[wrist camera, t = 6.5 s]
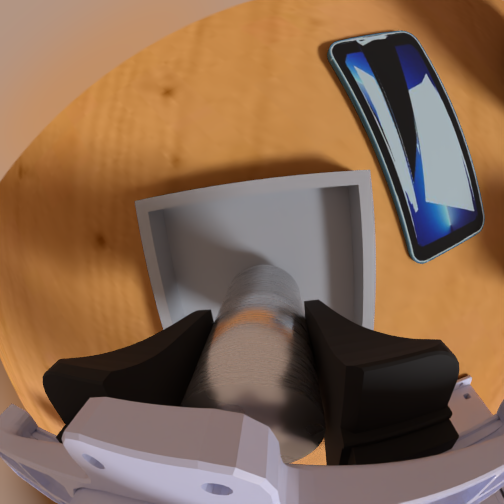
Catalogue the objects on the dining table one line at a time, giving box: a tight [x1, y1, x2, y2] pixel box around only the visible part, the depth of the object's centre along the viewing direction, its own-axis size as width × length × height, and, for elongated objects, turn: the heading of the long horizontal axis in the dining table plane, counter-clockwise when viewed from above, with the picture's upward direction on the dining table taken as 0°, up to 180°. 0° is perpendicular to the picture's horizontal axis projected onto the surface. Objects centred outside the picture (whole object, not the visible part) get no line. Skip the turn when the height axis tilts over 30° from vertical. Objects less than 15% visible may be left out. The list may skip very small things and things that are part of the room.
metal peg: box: [180, 264, 326, 463], centre depth 10 cm, size 4×4×9 cm
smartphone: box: [327, 31, 485, 264], centre depth 13 cm, size 7×1×15 cm
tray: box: [135, 170, 376, 330], centre depth 15 cm, size 12×12×3 cm
